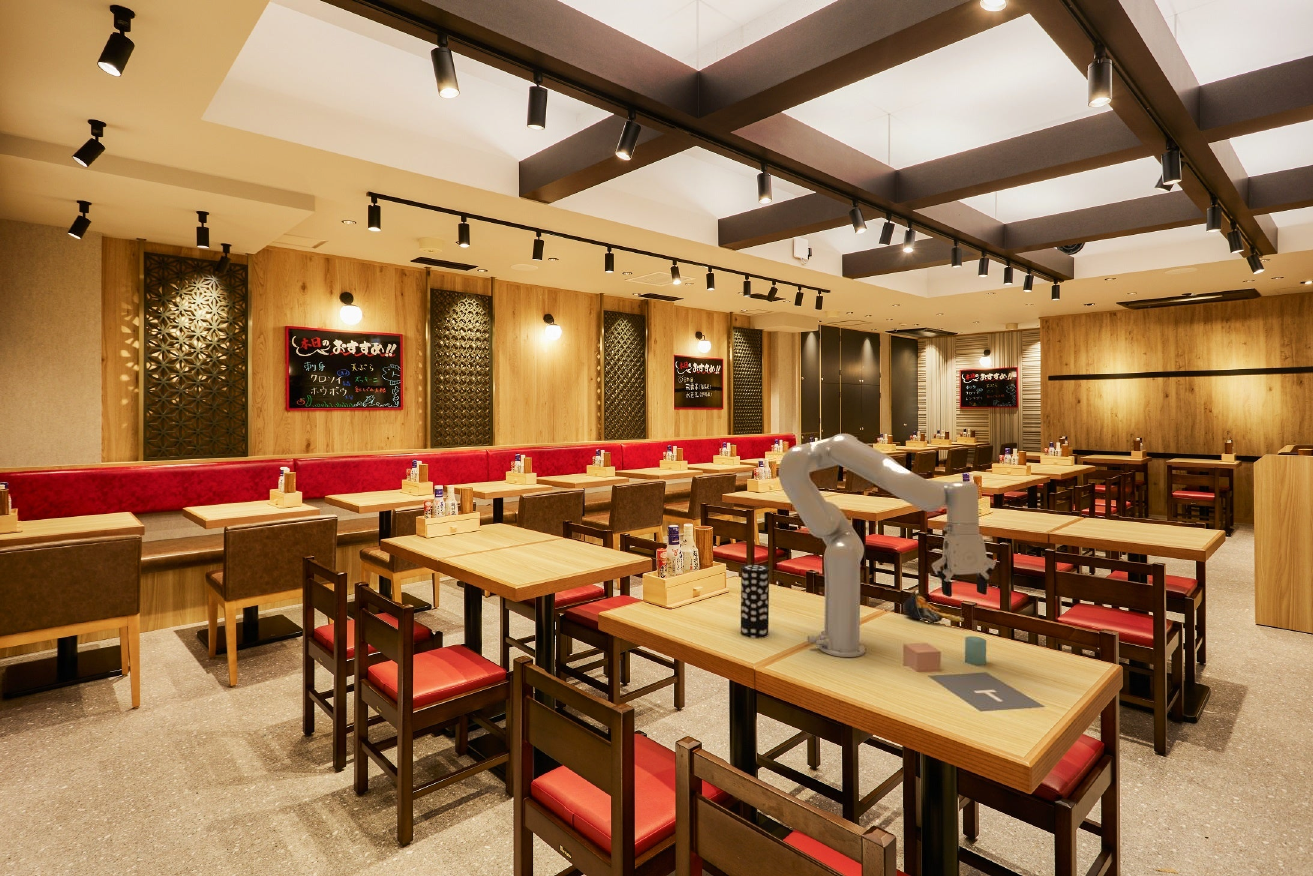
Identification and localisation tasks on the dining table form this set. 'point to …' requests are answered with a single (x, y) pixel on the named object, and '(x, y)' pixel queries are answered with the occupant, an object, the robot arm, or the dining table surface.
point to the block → (921, 657)
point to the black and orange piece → (925, 610)
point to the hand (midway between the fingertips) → (964, 594)
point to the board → (985, 692)
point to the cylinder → (975, 650)
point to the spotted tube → (754, 601)
